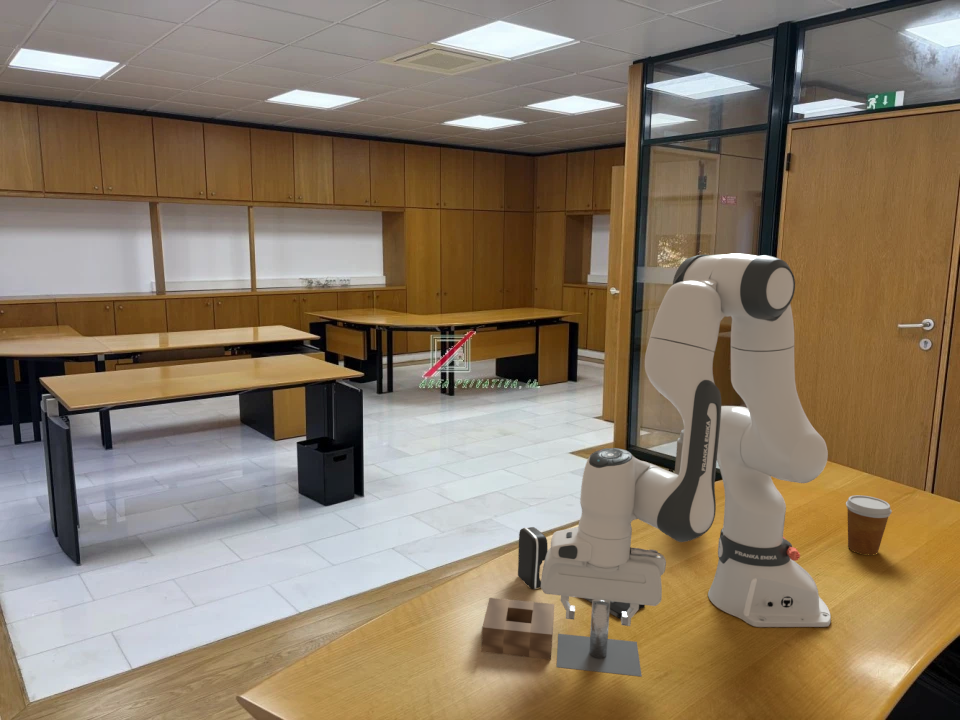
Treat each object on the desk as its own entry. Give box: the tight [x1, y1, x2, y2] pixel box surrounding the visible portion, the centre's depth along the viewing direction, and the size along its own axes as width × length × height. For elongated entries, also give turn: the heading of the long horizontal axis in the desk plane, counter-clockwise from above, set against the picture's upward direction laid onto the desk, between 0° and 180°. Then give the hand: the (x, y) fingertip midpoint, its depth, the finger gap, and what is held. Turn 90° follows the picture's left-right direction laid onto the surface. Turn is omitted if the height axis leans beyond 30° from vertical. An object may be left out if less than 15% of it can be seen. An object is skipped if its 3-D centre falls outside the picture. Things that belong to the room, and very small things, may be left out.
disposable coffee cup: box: [845, 494, 892, 556], centre depth 164 cm, size 10×10×12 cm
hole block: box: [481, 597, 555, 660], centre depth 123 cm, size 12×10×5 cm
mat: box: [556, 633, 643, 677], centre depth 120 cm, size 14×10×1 cm
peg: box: [589, 599, 610, 659], centre depth 119 cm, size 3×3×10 cm
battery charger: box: [517, 526, 549, 590], centre depth 144 cm, size 7×4×11 cm, turn 23°
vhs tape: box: [583, 598, 646, 620], centre depth 139 cm, size 8×14×2 cm, turn 38°
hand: (597, 620), depth 118 cm, fingers open, 8 cm apart
